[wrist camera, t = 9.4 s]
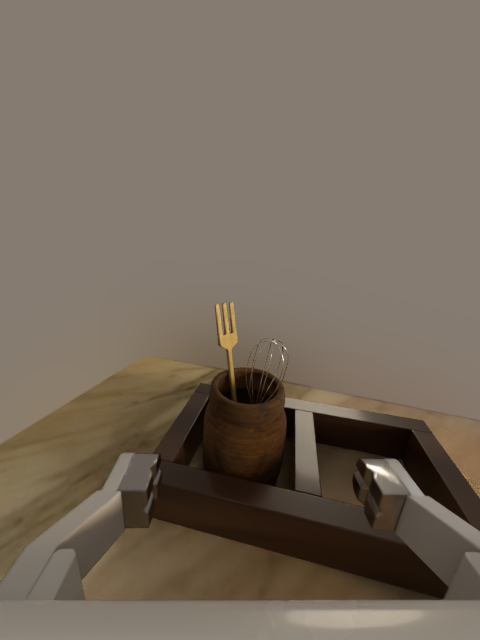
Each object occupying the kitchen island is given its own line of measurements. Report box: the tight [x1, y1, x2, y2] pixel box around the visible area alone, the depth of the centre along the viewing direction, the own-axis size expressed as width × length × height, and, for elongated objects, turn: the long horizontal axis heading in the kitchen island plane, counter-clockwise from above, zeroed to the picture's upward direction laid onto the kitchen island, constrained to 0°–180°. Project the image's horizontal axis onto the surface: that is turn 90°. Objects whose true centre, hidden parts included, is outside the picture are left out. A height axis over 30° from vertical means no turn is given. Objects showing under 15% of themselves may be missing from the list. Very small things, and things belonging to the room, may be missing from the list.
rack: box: [152, 383, 480, 598], centre depth 18 cm, size 10×20×3 cm, turn 78°
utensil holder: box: [203, 302, 289, 486], centre depth 18 cm, size 6×6×12 cm
